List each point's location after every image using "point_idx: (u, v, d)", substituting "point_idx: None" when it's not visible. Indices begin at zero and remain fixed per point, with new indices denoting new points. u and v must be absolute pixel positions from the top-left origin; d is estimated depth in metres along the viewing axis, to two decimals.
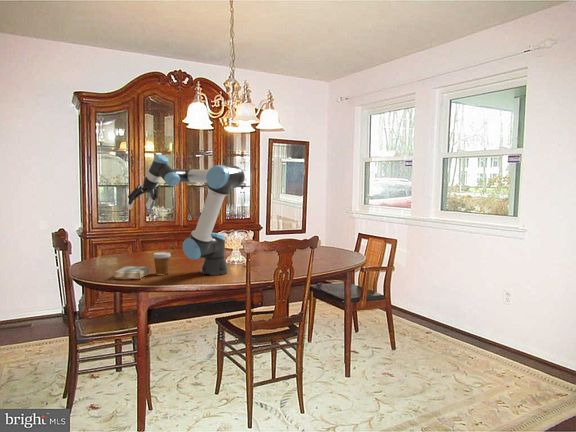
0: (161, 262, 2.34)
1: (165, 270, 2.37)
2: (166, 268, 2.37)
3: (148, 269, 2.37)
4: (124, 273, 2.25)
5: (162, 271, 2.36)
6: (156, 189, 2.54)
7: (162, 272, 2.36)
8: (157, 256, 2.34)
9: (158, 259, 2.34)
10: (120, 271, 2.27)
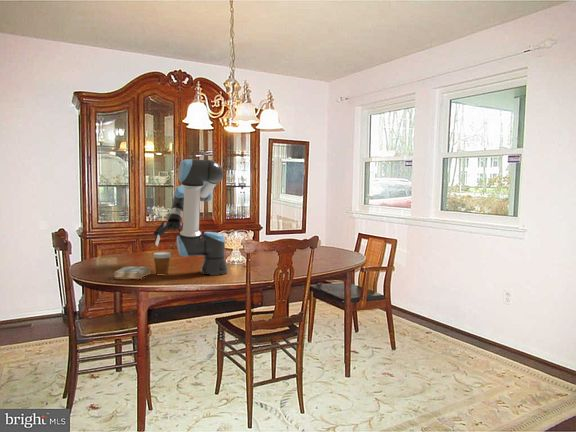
0: (161, 262, 2.34)
1: (165, 270, 2.37)
2: (166, 268, 2.37)
3: (148, 269, 2.37)
4: (124, 273, 2.25)
5: (162, 271, 2.36)
6: (182, 224, 2.56)
7: (162, 272, 2.36)
8: (157, 256, 2.34)
9: (158, 259, 2.34)
10: (120, 271, 2.27)
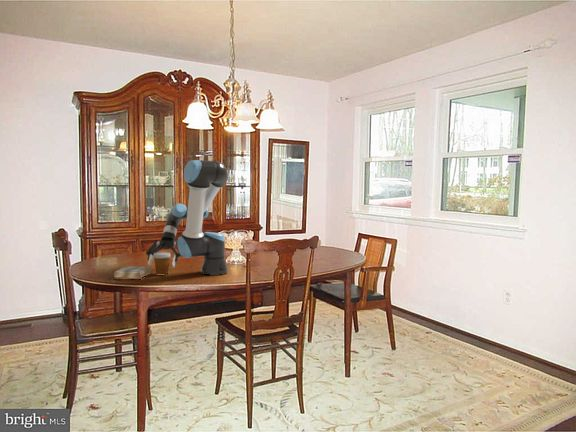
0: (161, 262, 2.34)
1: (165, 270, 2.37)
2: (166, 268, 2.37)
3: (148, 269, 2.37)
4: (124, 273, 2.25)
5: (162, 271, 2.36)
6: (176, 243, 2.45)
7: (162, 272, 2.36)
8: (157, 256, 2.34)
9: (158, 259, 2.34)
10: (120, 271, 2.27)
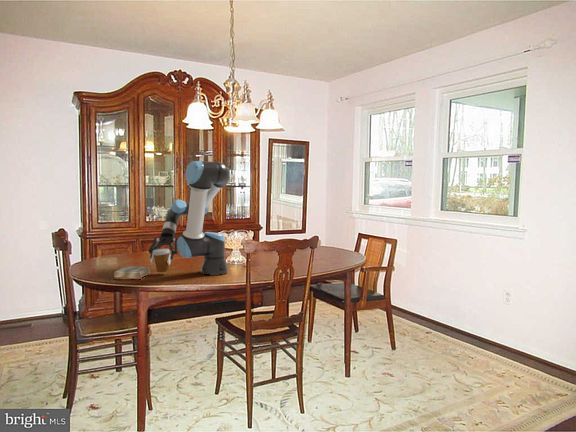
0: (161, 259, 2.33)
1: (166, 266, 2.36)
2: (167, 264, 2.36)
3: (148, 269, 2.37)
4: (124, 273, 2.25)
5: (163, 268, 2.35)
6: (174, 240, 2.44)
7: (162, 269, 2.35)
8: (156, 253, 2.33)
9: (157, 256, 2.33)
10: (120, 271, 2.27)
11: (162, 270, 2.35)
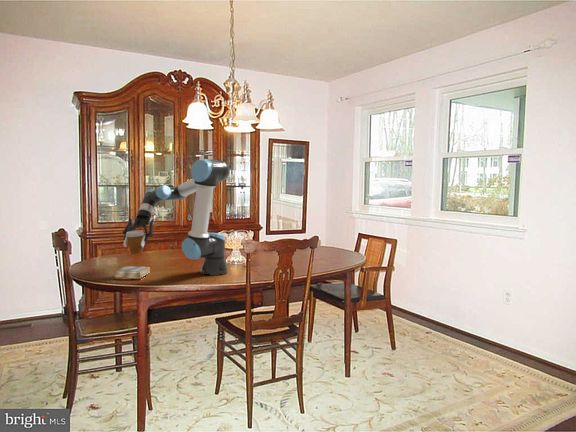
0: (134, 240, 2.28)
1: (139, 249, 2.31)
2: (140, 247, 2.31)
3: (148, 269, 2.37)
4: (124, 273, 2.25)
5: (136, 250, 2.30)
6: (150, 222, 2.38)
7: (136, 251, 2.30)
8: (129, 235, 2.27)
9: (131, 238, 2.28)
10: (120, 271, 2.27)
11: (135, 252, 2.30)
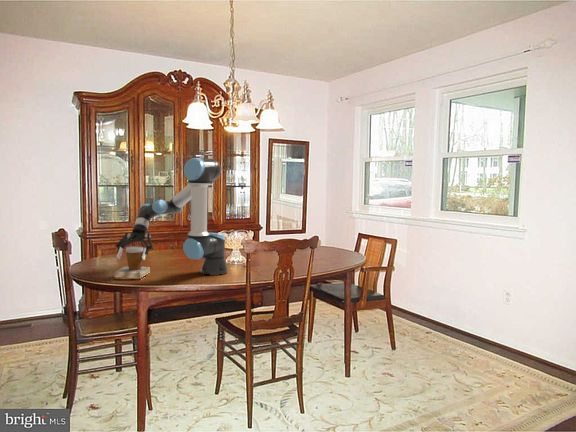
0: (133, 256, 2.27)
1: (138, 265, 2.29)
2: (139, 263, 2.30)
3: (148, 269, 2.37)
4: (124, 273, 2.25)
5: (135, 266, 2.28)
6: (147, 236, 2.37)
7: (134, 267, 2.28)
8: (129, 250, 2.26)
9: (130, 253, 2.27)
10: (120, 271, 2.27)
11: (134, 268, 2.29)
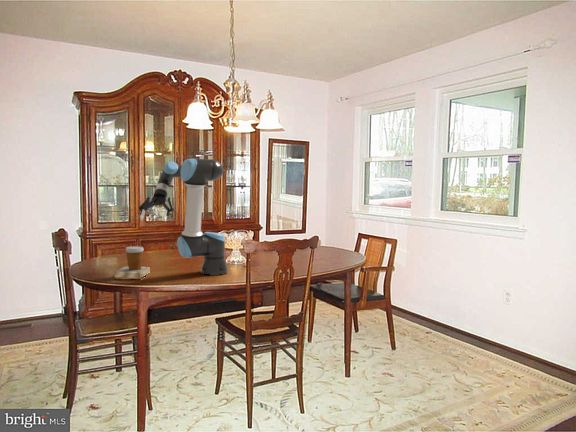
0: (133, 256, 2.27)
1: (138, 265, 2.29)
2: (139, 263, 2.30)
3: (148, 269, 2.37)
4: (124, 273, 2.25)
5: (135, 266, 2.28)
6: (167, 199, 2.53)
7: (134, 267, 2.28)
8: (129, 250, 2.26)
9: (130, 253, 2.27)
10: (120, 271, 2.27)
11: (134, 268, 2.29)
